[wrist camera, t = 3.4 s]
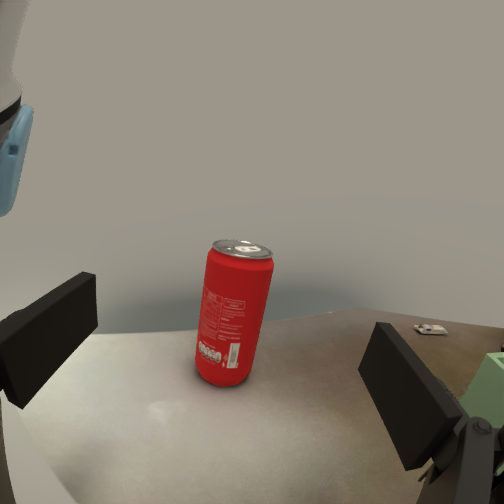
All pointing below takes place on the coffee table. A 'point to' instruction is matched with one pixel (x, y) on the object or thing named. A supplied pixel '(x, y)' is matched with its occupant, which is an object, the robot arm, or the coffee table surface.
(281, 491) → the coffee table surface
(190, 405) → the coffee table surface
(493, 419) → the open square storage bin
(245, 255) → the beverage can
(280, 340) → the coffee table surface
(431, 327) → the granola bar
